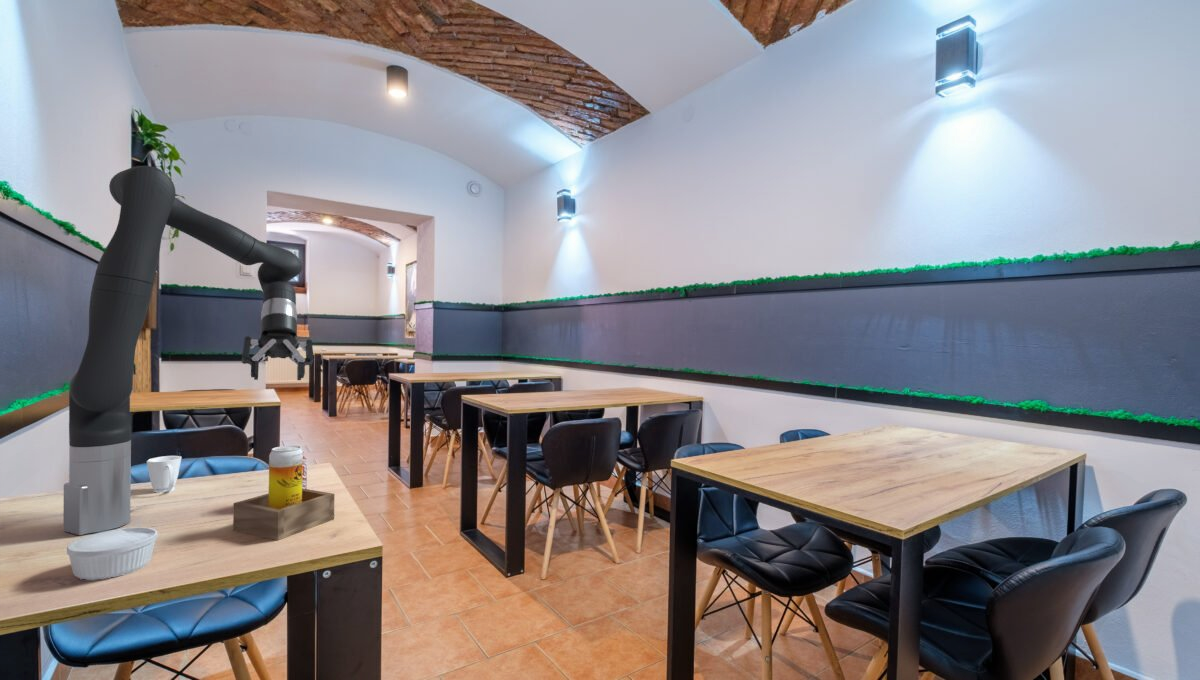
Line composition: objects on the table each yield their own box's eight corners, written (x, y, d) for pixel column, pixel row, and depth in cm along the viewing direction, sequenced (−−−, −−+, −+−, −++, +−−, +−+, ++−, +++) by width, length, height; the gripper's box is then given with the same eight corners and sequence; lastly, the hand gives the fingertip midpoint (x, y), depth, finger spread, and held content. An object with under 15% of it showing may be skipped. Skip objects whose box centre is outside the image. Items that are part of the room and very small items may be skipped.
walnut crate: (277, 540, 102) (278, 511, 102) (233, 530, 107) (233, 503, 107) (334, 519, 114) (334, 493, 114) (291, 510, 119) (292, 486, 119)
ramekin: (173, 555, 95) (173, 526, 95) (118, 584, 84) (119, 551, 84) (110, 555, 95) (110, 526, 95) (46, 584, 84) (46, 551, 84)
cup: (177, 484, 138) (177, 454, 138) (189, 492, 132) (189, 460, 132) (142, 490, 133) (142, 458, 133) (153, 498, 127) (153, 465, 127)
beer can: (291, 524, 108) (292, 451, 108) (261, 523, 108) (262, 450, 108) (307, 514, 114) (308, 445, 114) (279, 514, 114) (280, 444, 114)
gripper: (245, 309, 122) (241, 369, 115) (314, 314, 130) (315, 370, 123) (243, 327, 127) (240, 386, 120) (310, 331, 135) (311, 386, 128)
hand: (278, 378), depth 121 cm, fingers open, 8 cm apart
